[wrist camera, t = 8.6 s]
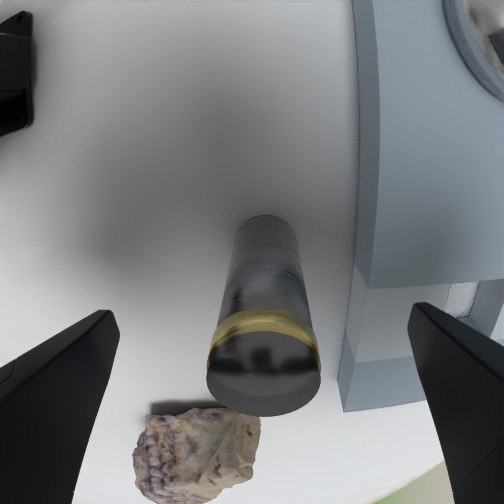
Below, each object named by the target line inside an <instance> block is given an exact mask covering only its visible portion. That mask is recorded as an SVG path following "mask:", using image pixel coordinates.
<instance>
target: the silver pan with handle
mask: <svg viewBox="0 0 504 504" xmlns="http://www.w3.org/2000/svg"><path fill="white" fill-rule="evenodd" d="M445 7H446V13H447V17H448V21H449V25H450V28H451V31H452V34H453V36H454V38H455V41H456V43H457V45H458V47H459V49H460V51H461V53H462V55H463V57H464V58H465V60H466V62H467V64H468V65H469V67H470V68H471V69H472V71H473V72H474V74H475V75H476V76H477V78H478V79H479V80H480V81H481V83H482V84H483V85H484V86H485V87H486V88H487V89H488V90H489V91H490V92H492V93H493V94H494V95H495V96H496V97H498V98H499V99H501V100H502V101H504V0H445Z"/></svg>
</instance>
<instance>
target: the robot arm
mask: <svg viewBox="0 0 504 504" xmlns="http://www.w3.org/2000/svg"><path fill="white" fill-rule="evenodd" d="M22 19H23V21H22ZM21 21H22V22H21ZM30 35H31V13H30V12H26V11H21V12H19V13H17V14H16V15H14V16H12V17H11V18H9V19H7V20H6V21H4V22H2V23H1V24H0V137H3V136H5V135H8V134H11V133H13V132H16V131H19V130H22V129H24V128H27V127H29V126H30V124H31V123H32V119H33V114H32V101H31V82H30ZM23 115H24V122H23ZM407 332H408V336H409V340H410V344H411V348H412V352H413V356H414V360H415V364H416V368H417V372H418V375H419V378H420V381H421V384H422V387H423V390H424V393H425V396H426V399H427V402H428V405H429V408H430V411H431V414H432V418H433V421H434V424H435V427H436V431H437V434H438V437H439V441H440V444H441V448H442V452H443V455H444V459H445V463H446V467H447V471H448V475H449V479H450V483H451V488H452V492H453V497H454V502H455V504H504V346H502V345H501V344H499V343H497V342H496V341H494V340H492V339H491V338H489V337H487V336H486V335H484V334H482V333H480V332H479V331H477V330H475V329H474V328H472V327H470V326H468V325H467V324H465V323H463V322H461V321H460V320H458V319H456V318H454V317H453V316H451V315H449V314H447V313H446V312H444V311H442V310H440V309H438V308H437V307H435V306H433V305H431V304H430V303H428V302H417V303H414V304H413V306H412V309H411V313H410V317H409V321H408V325H407ZM119 339H120V332H119V328H118V326H117V323H116V320H115V317H114V314H113V312H112V311H111V310H98V311H96V312H94V313H92V314H91V315H89V316H87V317H86V318H84V319H82V320H80V321H79V322H77V323H75V324H73V325H72V326H70V327H68V328H67V329H65V330H63V331H61V332H60V333H58V334H56V335H55V336H53V337H51V338H50V339H48V340H46V341H44V342H43V343H41V344H39V345H38V346H36V347H34V348H33V349H31V350H29V351H28V352H26V353H24V354H23V355H21V356H19V357H18V358H17V359H14V360H13V361H11V362H9V363H8V364H6V365H4V366H2V367H1V368H0V504H71V503H72V499H73V495H74V491H75V487H76V483H77V479H78V476H79V472H80V468H81V465H82V461H83V458H84V454H85V451H86V448H87V444H88V441H89V438H90V435H91V432H92V428H93V425H94V422H95V419H96V416H97V413H98V410H99V407H100V404H101V401H102V398H103V396H104V393H105V390H106V387H107V384H108V381H109V378H110V374H111V371H112V366H113V362H114V358H115V354H116V351H117V347H118V343H119Z"/></svg>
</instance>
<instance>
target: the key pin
mask: <svg viewBox="0 0 504 504" xmlns="http://www.w3.org/2000/svg"><path fill="white" fill-rule="evenodd" d="M320 372H321V363H320V357H319V351H318V346H317V340H316V336H315V334H314V332H313V328H312V322H311V317H310V311H309V306H308V300H307V295H306V290H305V284H304V279H303V274H302V269H301V264H300V258H299V253H298V248H297V244H296V239H295V235H294V232H293V230H292V228H291V227H290V226H289V225H288V224H287V223H286V222H285V221H284V220H282V219H281V218H278V217H276V216H271V215H260V216H256V217H254V218H252V219H250V220H248V221H247V222H246V223H245V224H243V226H242V227H241V228H240V230H239V232H238V235H237V239H236V243H235V247H234V252H233V256H232V261H231V265H230V269H229V274H228V278H227V283H226V287H225V292H224V296H223V301H222V306H221V310H220V315H219V319H218V324H217V329H216V331H215V333H214V335H213V338H212V342H211V347H210V351H209V356H208V360H207V377H206V381H207V386H208V389H209V391H210V393H211V394H212V395H213V397H214V398H215V399H216V400H217V401H218V402H219V403H221V404H222V405H223V406H225V407H227V408H229V409H231V410H233V411H235V412H238V413H241V414H245V415H250V416H258V417H270V416H278V415H283V414H287V413H290V412H293V411H295V410H297V409H299V408H301V407H303V406H304V405H306V404H307V403H308V402H310V401H311V400H312V399H313V397H314V396H315V395H316V393H317V392H318V389H319V387H320V383H321V376H320Z"/></svg>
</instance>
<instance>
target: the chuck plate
mask: <svg viewBox="0 0 504 504" xmlns="http://www.w3.org/2000/svg"><path fill="white" fill-rule="evenodd" d="M352 6H353V15H354V24H355V35H356V48H357V62H358V81H359V113H360V158H359V191H358V211H357V227H356V241H355V253H354V264H353V274H352V283H351V292H350V301H349V308H348V316H347V323H346V330H345V337H344V344H343V350H342V356H341V362H340V368H339V374H338V379H337V382H338V387H339V392H340V397H341V402H342V407H343V412H353V411H362V410H369V409H377V408H384V407H390V406H396V405H402V404H408V403H413V402H418V401H423V400H427V399H426V396H425V393H424V390H423V387H422V384H421V381H420V378H419V375H418V372H417V368H416V364H415V360H414V356H413V352H412V348H411V344H410V340H409V336H408V332H407V325H408V321H409V317H410V313H411V309H412V306H413V304H414V303H417V302H428V303H430V304H431V305H433V306H435V307H437V308H438V309H440V310H442V311H444V309H445V306H446V302H447V299H448V295H449V291H450V288H451V284H452V283H463V282H474V281H480V284H479V287H478V290H477V294H476V297H475V300H474V303H473V306H472V309H471V312H470V315H469V316H467V317H460V318H456V319H458V320H460V321H461V322H463V323H465V324H467V325H468V326H470V327H472V328H474V329H475V330H477V331H479V332H480V333H482V334H484V335H486V336H487V337H489V338H491V339H492V340H494V341H496V342H497V343H499V344H501V345H502V346H504V101H502V100H501V99H499V98H498V97H496V96H495V95H494V94H493V93H492V92H490V91H489V90H488V89H487V88H486V87H485V86H484V85H483V84H482V83H481V81H480V80H479V79H478V78H477V76H476V75H475V74H474V72H473V71H472V69H471V68H470V67H469V65H468V64H467V62H466V60H465V58H464V57H463V55H462V53H461V51H460V49H459V47H458V45H457V43H456V41H455V38H454V36H453V34H452V31H451V28H450V25H449V21H448V17H447V13H446V7H445V0H352Z"/></svg>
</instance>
